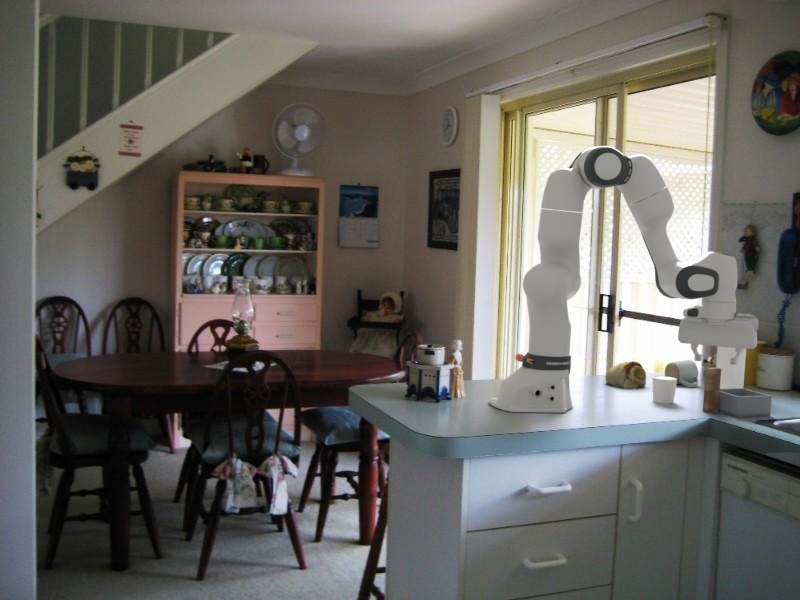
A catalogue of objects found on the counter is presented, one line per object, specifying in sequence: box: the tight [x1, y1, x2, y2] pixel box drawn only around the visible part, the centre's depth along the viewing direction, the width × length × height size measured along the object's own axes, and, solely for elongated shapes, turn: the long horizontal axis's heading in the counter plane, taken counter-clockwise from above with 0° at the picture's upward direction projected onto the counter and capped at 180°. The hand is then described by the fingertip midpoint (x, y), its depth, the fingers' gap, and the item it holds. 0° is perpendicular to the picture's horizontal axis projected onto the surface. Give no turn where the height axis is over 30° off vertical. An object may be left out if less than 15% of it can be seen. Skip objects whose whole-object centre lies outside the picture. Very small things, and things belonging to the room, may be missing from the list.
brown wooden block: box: [702, 367, 721, 413], centre depth 232 cm, size 4×2×12 cm, turn 109°
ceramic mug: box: [664, 359, 699, 388], centre depth 274 cm, size 11×8×8 cm
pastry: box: [605, 361, 647, 390], centre depth 269 cm, size 14×12×8 cm
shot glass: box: [651, 375, 678, 405], centre depth 244 cm, size 7×7×7 cm
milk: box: [715, 346, 747, 389], centre depth 258 cm, size 6×6×22 cm
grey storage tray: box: [718, 387, 773, 418], centre depth 233 cm, size 11×11×6 cm
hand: (715, 362), depth 231 cm, fingers open, 8 cm apart
